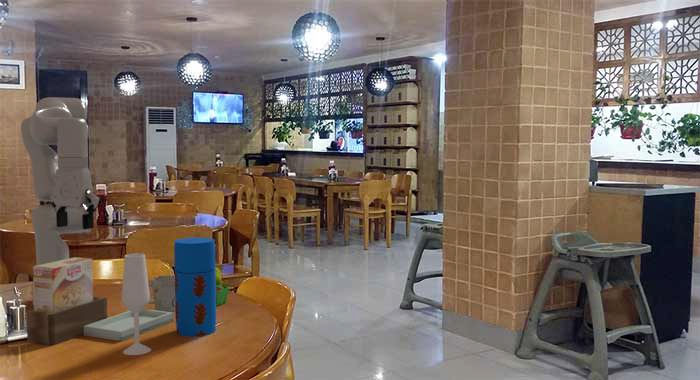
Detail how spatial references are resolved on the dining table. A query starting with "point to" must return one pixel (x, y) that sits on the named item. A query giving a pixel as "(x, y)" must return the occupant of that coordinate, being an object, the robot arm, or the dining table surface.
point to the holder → (64, 322)
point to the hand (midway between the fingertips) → (75, 227)
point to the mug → (163, 293)
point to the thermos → (195, 286)
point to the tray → (127, 324)
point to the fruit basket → (220, 289)
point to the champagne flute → (135, 295)
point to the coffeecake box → (62, 284)
